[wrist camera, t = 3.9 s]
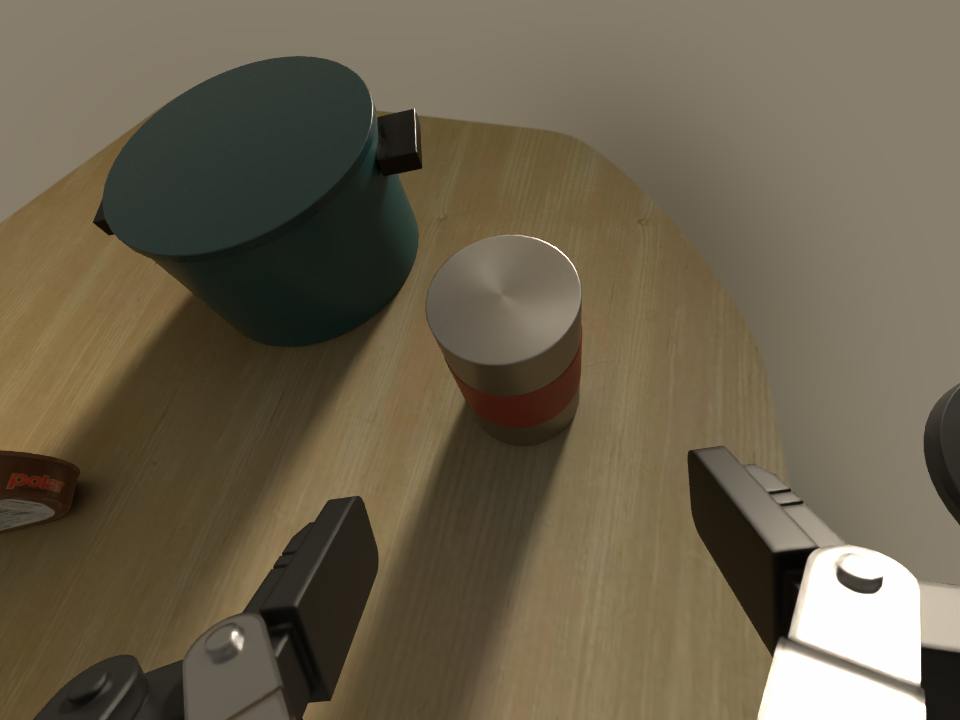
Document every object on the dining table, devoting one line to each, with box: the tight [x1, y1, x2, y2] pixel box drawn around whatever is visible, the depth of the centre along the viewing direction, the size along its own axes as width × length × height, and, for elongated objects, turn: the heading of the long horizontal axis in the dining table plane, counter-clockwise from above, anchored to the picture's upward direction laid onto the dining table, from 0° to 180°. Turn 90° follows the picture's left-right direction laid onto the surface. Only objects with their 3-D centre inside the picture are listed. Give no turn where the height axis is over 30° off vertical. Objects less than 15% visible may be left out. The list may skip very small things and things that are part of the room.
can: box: [426, 235, 582, 445], centre depth 24 cm, size 6×6×10 cm
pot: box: [93, 56, 422, 346], centre depth 32 cm, size 21×17×10 cm
